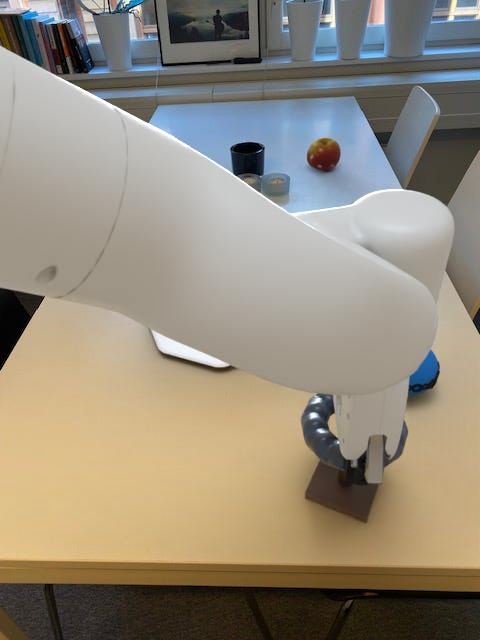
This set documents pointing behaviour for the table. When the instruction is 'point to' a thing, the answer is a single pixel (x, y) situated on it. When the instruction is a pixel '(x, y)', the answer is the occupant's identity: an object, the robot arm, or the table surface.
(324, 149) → the fruit
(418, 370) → the ornament
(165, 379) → the table surface
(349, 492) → the stand
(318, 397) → the ring
